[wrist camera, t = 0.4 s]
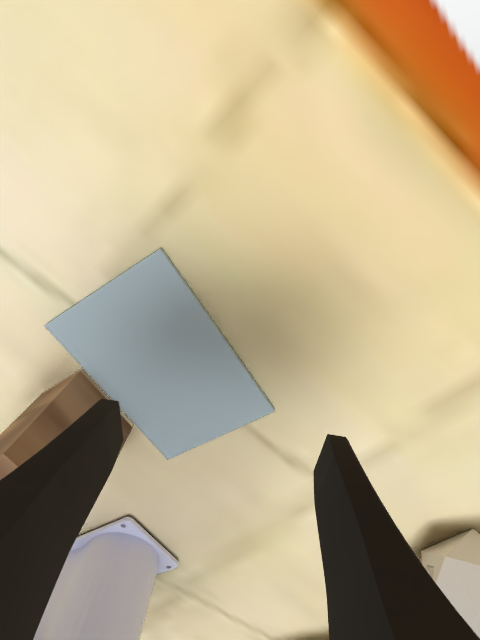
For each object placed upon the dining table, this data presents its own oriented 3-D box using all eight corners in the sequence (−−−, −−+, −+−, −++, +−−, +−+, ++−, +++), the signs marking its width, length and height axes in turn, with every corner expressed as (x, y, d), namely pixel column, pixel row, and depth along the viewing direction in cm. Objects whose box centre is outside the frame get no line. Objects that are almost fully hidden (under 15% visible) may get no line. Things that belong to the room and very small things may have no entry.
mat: (168, 455, 27) (167, 459, 26) (47, 323, 22) (44, 325, 22) (274, 407, 24) (274, 411, 24) (161, 247, 20) (159, 248, 19)
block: (96, 443, 26) (35, 543, 19) (44, 391, 25) (-46, 480, 17) (133, 424, 25) (83, 523, 18) (82, 368, 24) (3, 453, 16)
